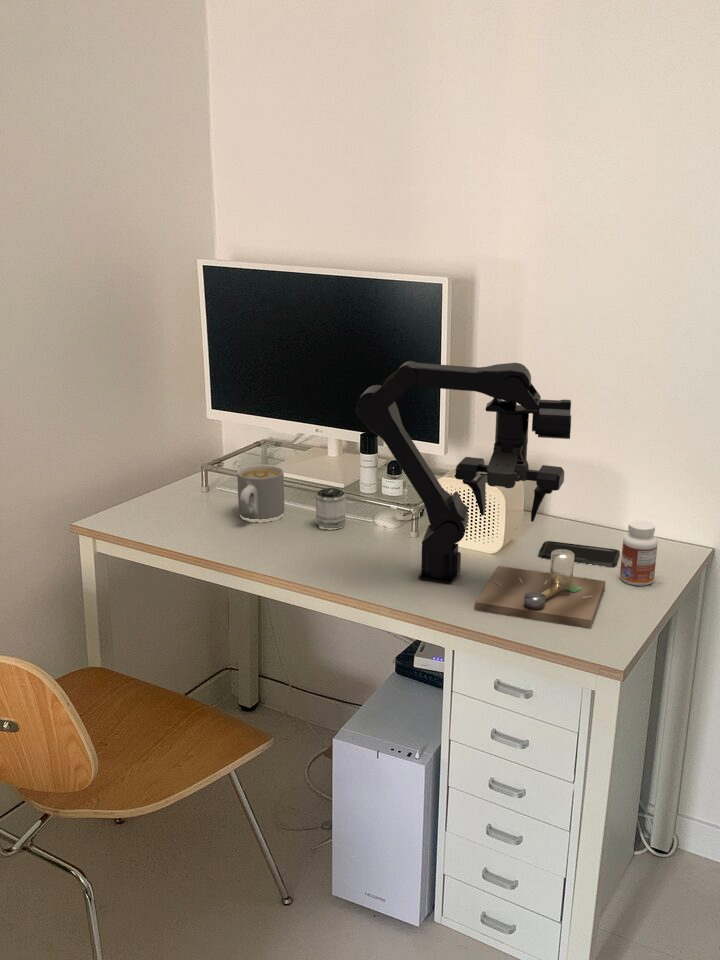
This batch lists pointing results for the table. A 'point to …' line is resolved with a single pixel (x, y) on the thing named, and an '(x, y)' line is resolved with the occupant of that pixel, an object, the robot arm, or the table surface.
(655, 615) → the table surface
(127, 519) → the table surface
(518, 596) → the wooden serving board
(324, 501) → the glass jar
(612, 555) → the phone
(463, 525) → the robot arm
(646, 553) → the pill bottle
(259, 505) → the coffee mug
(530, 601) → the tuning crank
